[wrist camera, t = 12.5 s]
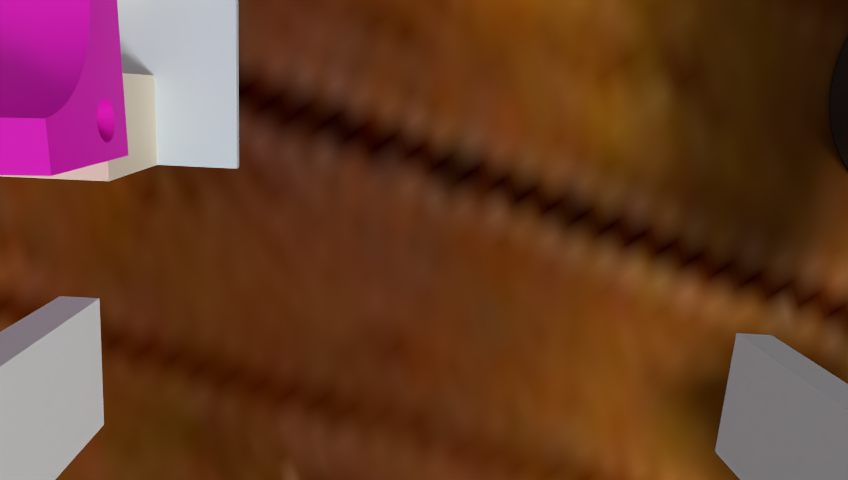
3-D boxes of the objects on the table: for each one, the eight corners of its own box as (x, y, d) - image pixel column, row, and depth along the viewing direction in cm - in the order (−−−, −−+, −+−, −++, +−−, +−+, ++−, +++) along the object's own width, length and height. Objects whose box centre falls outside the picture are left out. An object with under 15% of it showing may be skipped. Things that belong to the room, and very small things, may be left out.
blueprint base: (237, -90, 36) (201, -137, 28) (239, 167, 39) (206, 185, 31) (-34, -112, 34) (-145, -167, 27) (-10, 155, 38) (-105, 171, 30)
